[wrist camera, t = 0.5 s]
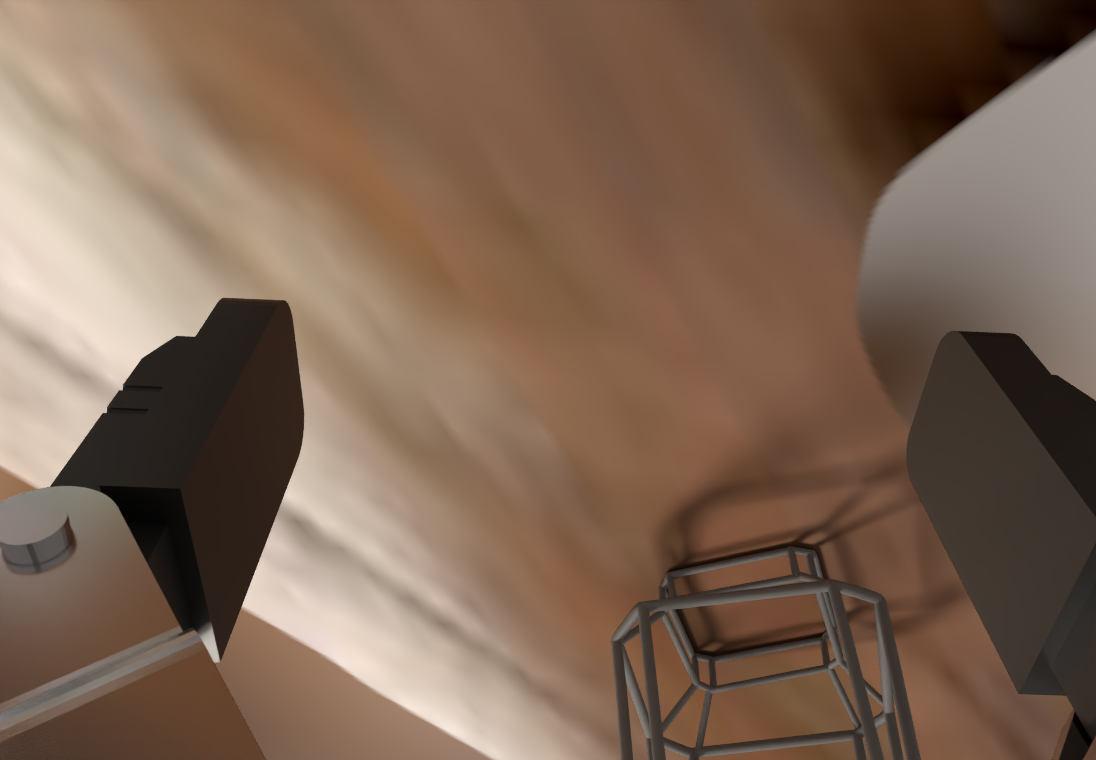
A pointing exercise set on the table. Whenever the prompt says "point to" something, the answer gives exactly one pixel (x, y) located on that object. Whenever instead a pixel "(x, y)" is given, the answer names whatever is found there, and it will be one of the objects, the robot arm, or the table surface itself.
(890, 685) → the geometric lantern
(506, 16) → the table surface
